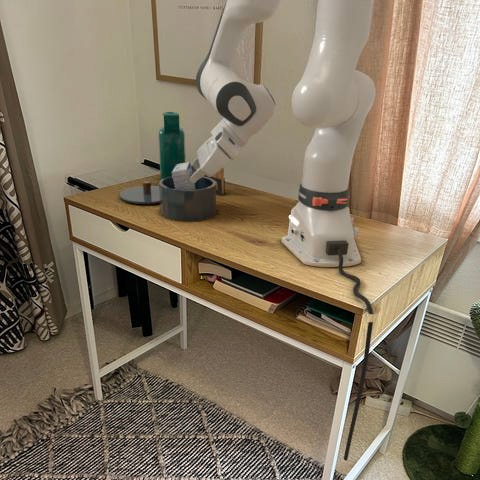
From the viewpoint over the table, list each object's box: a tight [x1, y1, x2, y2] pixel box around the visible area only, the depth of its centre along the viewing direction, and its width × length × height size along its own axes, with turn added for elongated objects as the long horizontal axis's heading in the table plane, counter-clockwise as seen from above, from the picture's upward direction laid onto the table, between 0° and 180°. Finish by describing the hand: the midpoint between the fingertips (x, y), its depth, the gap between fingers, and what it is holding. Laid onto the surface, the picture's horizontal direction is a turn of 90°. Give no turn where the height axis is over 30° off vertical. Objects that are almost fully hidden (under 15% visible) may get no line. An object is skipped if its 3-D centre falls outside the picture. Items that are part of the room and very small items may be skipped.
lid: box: [119, 180, 160, 205], centre depth 149 cm, size 17×17×5 cm
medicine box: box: [172, 162, 196, 190], centre depth 135 cm, size 8×4×9 cm, turn 179°
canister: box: [158, 176, 217, 222], centre depth 137 cm, size 16×16×8 cm
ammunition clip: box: [197, 166, 226, 196], centre depth 154 cm, size 11×2×12 cm, turn 52°
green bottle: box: [157, 111, 187, 180], centre depth 160 cm, size 10×8×22 cm
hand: (190, 176), depth 135 cm, fingers closed on medicine box, 8 cm apart
